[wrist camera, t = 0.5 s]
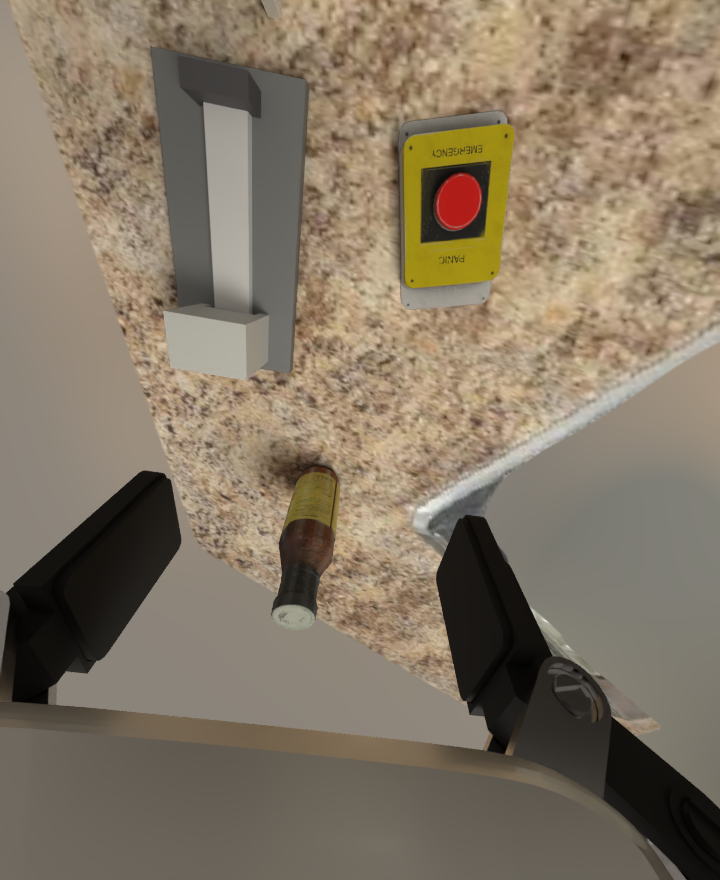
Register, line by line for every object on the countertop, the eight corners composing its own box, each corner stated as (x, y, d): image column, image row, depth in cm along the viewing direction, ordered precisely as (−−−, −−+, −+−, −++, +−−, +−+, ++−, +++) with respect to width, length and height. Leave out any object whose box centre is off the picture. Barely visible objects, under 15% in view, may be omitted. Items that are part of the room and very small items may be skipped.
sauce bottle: (289, 474, 45) (238, 604, 27) (327, 457, 43) (297, 584, 26) (314, 506, 47) (281, 643, 30) (350, 491, 46) (337, 627, 28)
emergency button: (529, 85, 23) (502, 307, 30) (506, 112, 27) (487, 302, 34) (401, 101, 23) (404, 315, 30) (397, 125, 27) (400, 310, 34)
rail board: (162, 58, 25) (74, -32, 18) (309, 89, 26) (284, 15, 18) (190, 353, 37) (144, 373, 29) (292, 369, 37) (272, 394, 30)
